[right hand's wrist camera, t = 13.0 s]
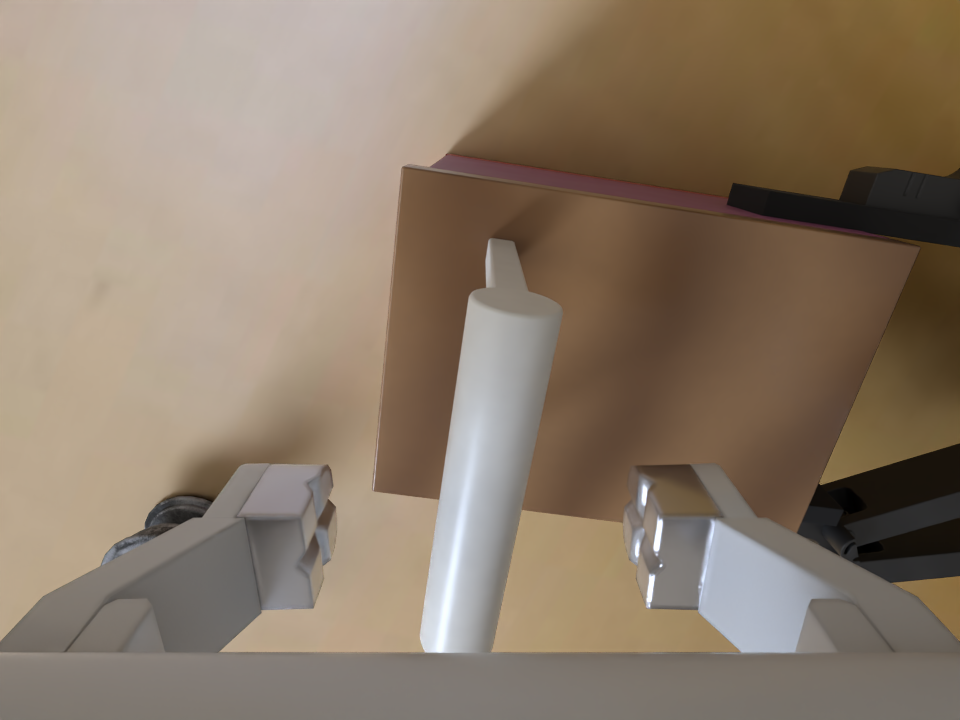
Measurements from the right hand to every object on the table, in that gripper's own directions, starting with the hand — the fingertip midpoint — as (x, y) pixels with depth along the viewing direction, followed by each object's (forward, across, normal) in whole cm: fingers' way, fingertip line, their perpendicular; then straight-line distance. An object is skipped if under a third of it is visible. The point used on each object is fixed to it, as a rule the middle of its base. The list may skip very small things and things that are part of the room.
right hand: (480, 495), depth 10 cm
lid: (+8, -4, +1) cm, 9 cm away
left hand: (+10, -8, +1) cm, 13 cm away
